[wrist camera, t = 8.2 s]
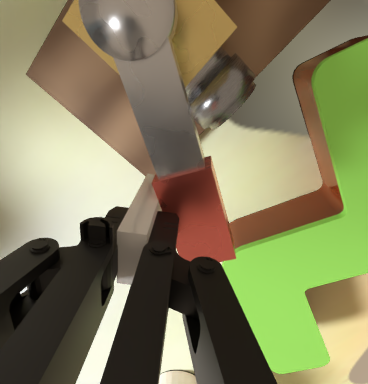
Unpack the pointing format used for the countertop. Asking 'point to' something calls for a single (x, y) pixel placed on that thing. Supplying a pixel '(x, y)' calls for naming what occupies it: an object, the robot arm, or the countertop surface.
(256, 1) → the board
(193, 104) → the valve
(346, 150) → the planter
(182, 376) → the cup
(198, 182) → the lever
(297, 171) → the countertop surface
